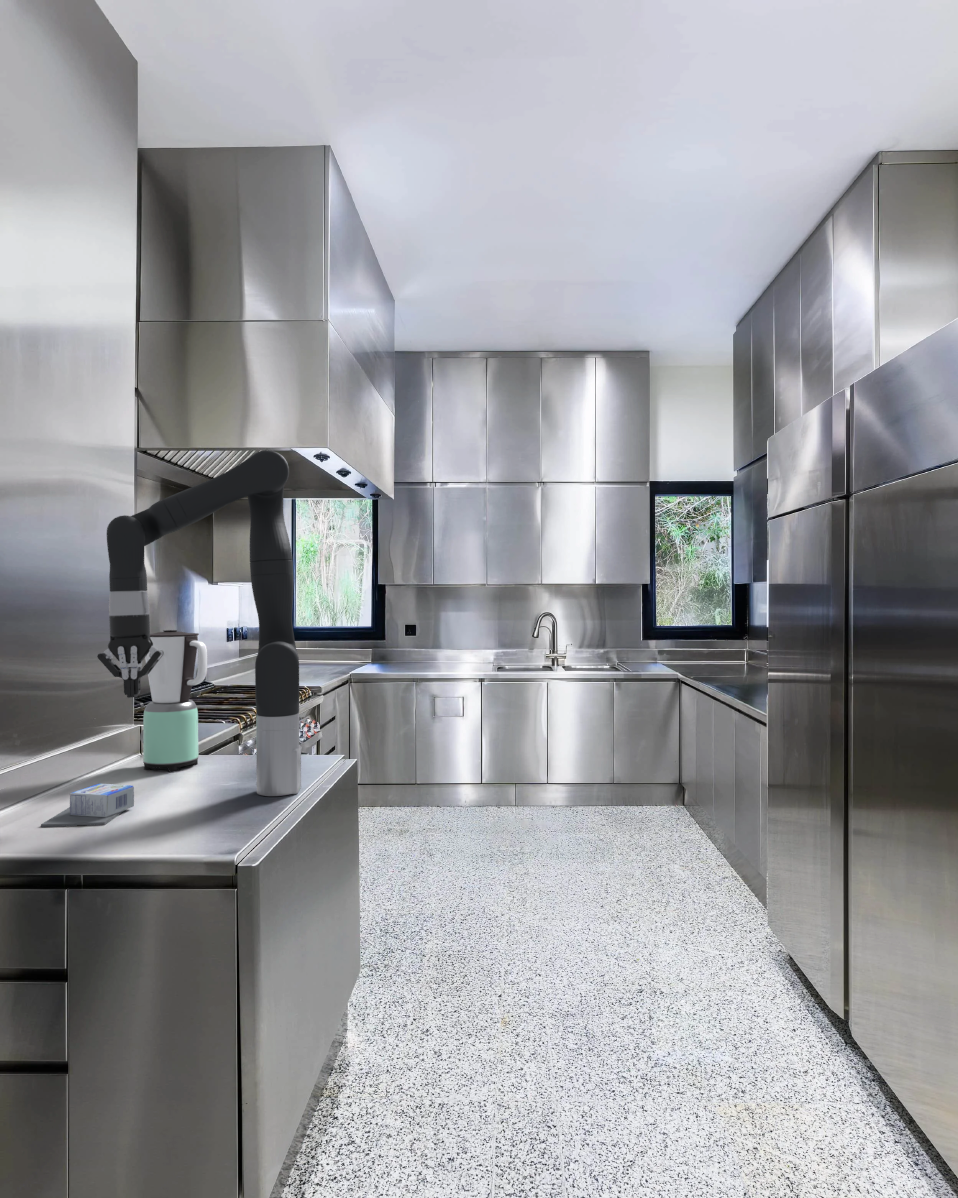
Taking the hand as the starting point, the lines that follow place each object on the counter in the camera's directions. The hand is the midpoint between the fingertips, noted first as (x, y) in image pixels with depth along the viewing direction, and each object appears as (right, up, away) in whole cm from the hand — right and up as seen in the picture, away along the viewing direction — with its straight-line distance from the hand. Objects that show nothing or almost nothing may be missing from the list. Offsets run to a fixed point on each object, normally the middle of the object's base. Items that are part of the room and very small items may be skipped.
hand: (132, 697), depth 151 cm
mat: (-6, -23, -7) cm, 24 cm away
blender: (-7, -23, +36) cm, 43 cm away
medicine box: (+1, -20, -6) cm, 21 cm away
